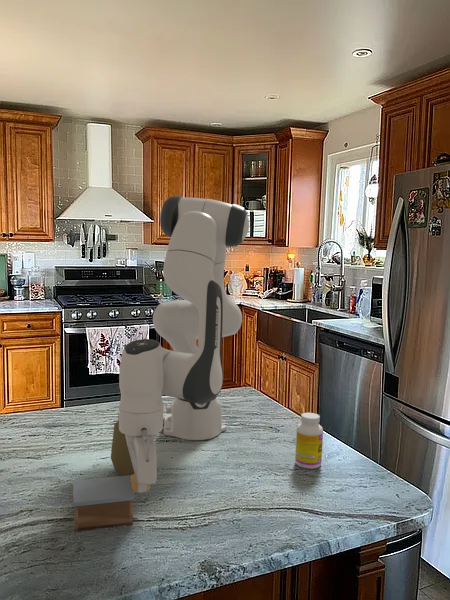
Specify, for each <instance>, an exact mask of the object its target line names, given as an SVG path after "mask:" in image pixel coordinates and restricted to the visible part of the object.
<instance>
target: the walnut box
mask: <svg viewBox="0 0 450 600" xmlns="http://www.w3.org/2000/svg"><path fill="white" fill-rule="evenodd" d="M73 509H74V511H73V512H74V515H73V516H74V518H73V519H74V532H75V533H77V532H83V531H84V532H85V531H92V530H101V529H107V528H108V529H110V528H117V527H124V526H125V527H126V526H132V525H134V524H133V522H134V500H130V501H121V502H112V503H103V504H94V505H85V506H76V507H74V506H73Z"/></svg>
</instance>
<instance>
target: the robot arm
mask: <svg viewBox="0 0 450 600" xmlns="http://www.w3.org/2000/svg"><path fill="white" fill-rule="evenodd" d="M159 224H160V225H159V226H160V229H161V232H163V234H164V235H165V236H167V237H169V238H170V239H169V242H168V246H167V248H166V249H167V250H166V254H165V259H164V262H163V268H162V269H163V270H162V272H163V273H162V276H163V279H164V281H165V284H166V285H167V287H168V288H169V289H170V290H171V291H172V292H173V293H174V294H175V295H176V296H179V297H180V298H182V299H174V300H169V301H164V302H161V303H159V304H158V305H157V306H156V308H155V310H154V311H153V314H152V323H153V328H154V330H155V331H156V333H157V334H158V335H159V336H160V337H161V338H163V339H164V340H166V342H167V343H168V344H169V345H170V347H171V348H172V350H170V349H167V348H165V347H162V345H161V343H160V342H159V341H158V340H155V339H150V338H143V339H136V340H132V341H130V342H129V343H126V344H125V346H124V347H123V349H122V352H121V357H120V362H119V373H118V374H119V375H118V381H119V382H118V385H119V390H120V401H119V404H118V414H119V431H120V432H121V433H123V434H125V438H126V441H127V446H128V450H129V454H130V457H131V461H132V465H133V469H134V474H135V476H136V480H137V490H138V492H137V493H146V492H148V491H147V485H149V484H150V485H154V484H156V482H157V478H158V472H157V470H158V468H157V467H158V466H157V465H158V462H157V447H156V443H155V439H156V438H157V435H158V433H161V432H162V430H163V435H166V436H170V437H171V436H172V437H176V438H179V439H183V440H188V441H203V440H209V439H213V438H215V437H217V436H219V435H220V434H221V433H222V432H225V431H227V425H226V424H224V423H223V420H222V415H223V414H222V403H221V402H220V400H218V399H217V397H218V395H219V394H220V392H221V391H222V389H223V388H222V387H223V382H224V370H223V360H222V358H223V357H222V353H223V351H222V350H223V349H222V348H223V347H222V346H223V345H222V343H223V338H225V337H229V336H233V335H236V334H237V333H238V331H239V330H240V328H241V326H242V323H243V314H242V311H241V309H240V307H239V306H238V304H236V302H234V301H233V300H232V299H231V298H230V297H229V296H228V294H227V292H226V289H225V283H224V281H225V280H224V276H225V275H224V274H225V267H226V266H225V264H226V255H227V248H233V247H239V245H241V244H243V242H244V240H245V238H246V237H247V235H248V233H249V229H250V220H249V217H248V212H247V209H245V207H243V206H241V205H239V204H236V203H232V204H231V203H228V202H224V201H222V200H221V201H220V200H218V199H217V200H216V199H211V198H200V197H183V196H182V195H173V196H169V197H168V198H167V199H166V200H165V201H164V202H163V204H162V206H161V209H160V212H159ZM197 339H198V343H197ZM162 396H166V397H170V398H173V400H172V401H171V405H167V406H166V409H165V410H166V411H165V412H166V414H165V415H164V401H163V398H162Z"/></svg>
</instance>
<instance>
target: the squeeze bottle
mask: <svg viewBox="0 0 450 600" xmlns="http://www.w3.org/2000/svg"><path fill="white" fill-rule="evenodd" d="M117 416H118V417H117V421H116V422H115V423H114V424H113V432H112V443H111V451H110V460H111V463H112V466H113V468H114V472H115V473H116V474H117V475H119V476H127V475H129V476H131V475H132V474H134V469H133V465H132V461H131V457H130V454H129V450H128V446H127V441H126V438H125V434H123V433H121V432H120V431H119V413H118V415H117Z"/></svg>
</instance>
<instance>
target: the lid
mask: <svg viewBox="0 0 450 600" xmlns="http://www.w3.org/2000/svg"><path fill="white" fill-rule="evenodd" d="M72 483H73V485H72V491H73V493H72V495H73V498H72V499H73V501H72V502H73V503H72V504H73V508H74V507H76V506H85V505H94V504H103V503H112V502H121V501H130V500H133V501H135V495H134V493H139V492H138V490H137V480H136V476H135V474H132V475H119V476H118V475H117V476H109V477H106V476H105V477H99V478H98V477H97V478H96V477H95V478H87V479H78V480H76V479H75V480H73V481H72ZM150 488H151V484H149V485H147V491H146V492H149V491H150Z"/></svg>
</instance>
